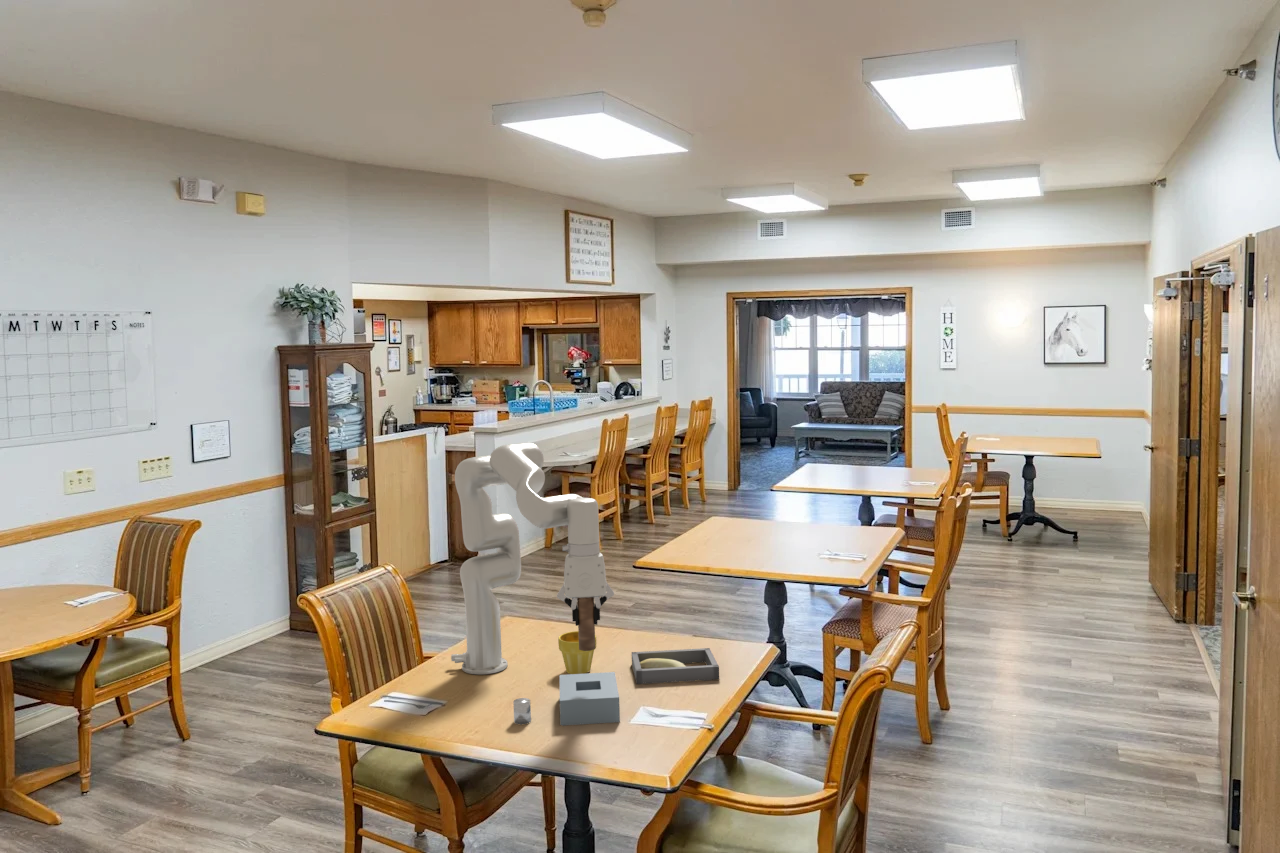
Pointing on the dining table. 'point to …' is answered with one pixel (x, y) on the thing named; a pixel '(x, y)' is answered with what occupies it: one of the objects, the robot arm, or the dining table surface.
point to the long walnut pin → (586, 623)
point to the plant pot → (575, 653)
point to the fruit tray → (676, 673)
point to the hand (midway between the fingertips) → (586, 622)
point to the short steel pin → (522, 711)
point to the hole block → (589, 698)
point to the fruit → (660, 663)
